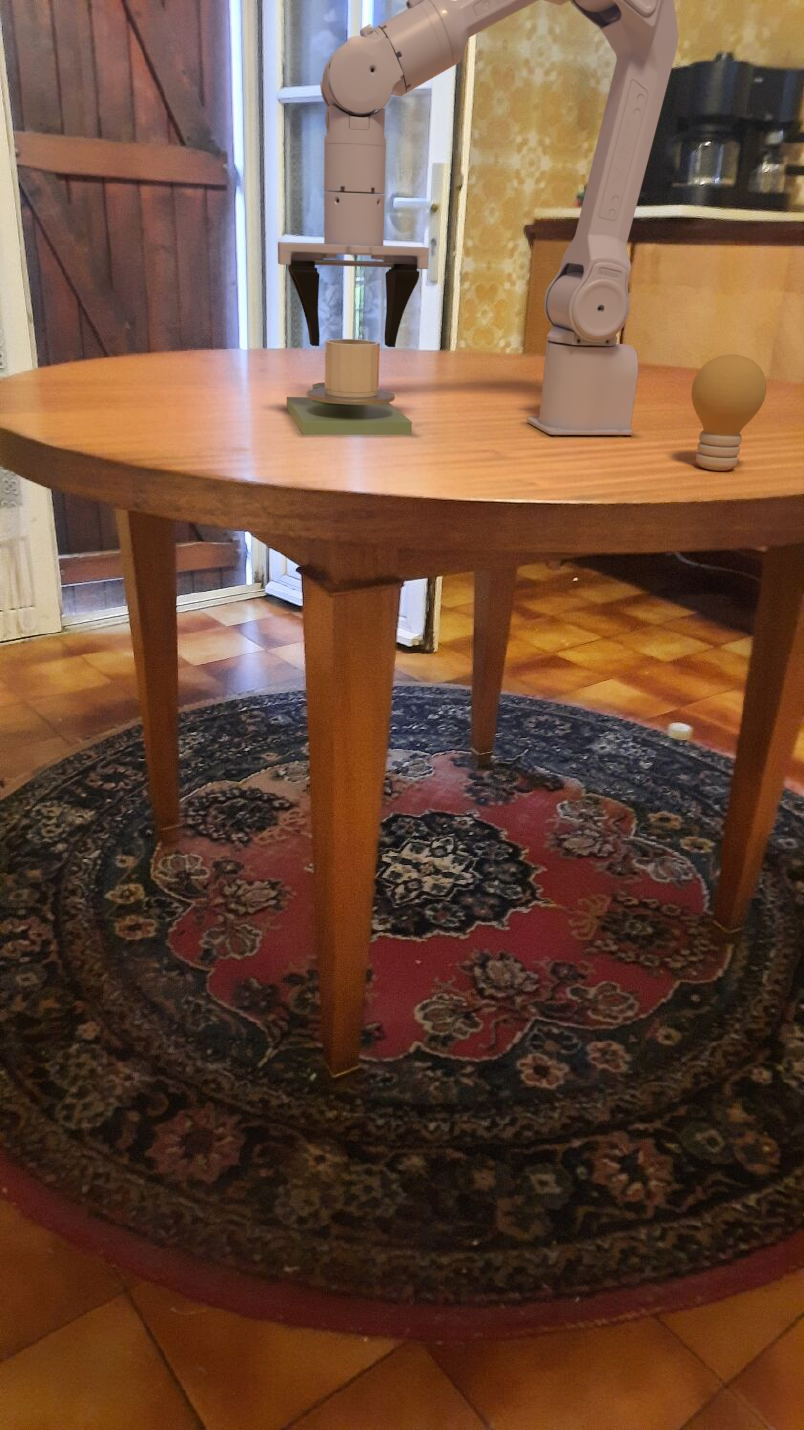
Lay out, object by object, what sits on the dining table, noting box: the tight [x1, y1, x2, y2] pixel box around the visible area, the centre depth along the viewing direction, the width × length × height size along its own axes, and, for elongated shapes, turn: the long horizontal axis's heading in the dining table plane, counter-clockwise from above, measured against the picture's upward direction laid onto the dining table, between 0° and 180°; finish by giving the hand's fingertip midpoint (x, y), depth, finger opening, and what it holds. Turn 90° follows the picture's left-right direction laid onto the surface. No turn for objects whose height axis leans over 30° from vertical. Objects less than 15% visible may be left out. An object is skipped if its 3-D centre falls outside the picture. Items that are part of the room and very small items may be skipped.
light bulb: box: [691, 354, 767, 472], centre depth 92 cm, size 6×6×10 cm
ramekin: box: [324, 338, 381, 398], centre depth 103 cm, size 5×5×5 cm
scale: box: [286, 381, 413, 436], centre depth 108 cm, size 15×11×3 cm
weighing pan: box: [306, 388, 396, 405], centre depth 104 cm, size 9×9×1 cm
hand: (352, 345), depth 102 cm, fingers open, 7 cm apart
